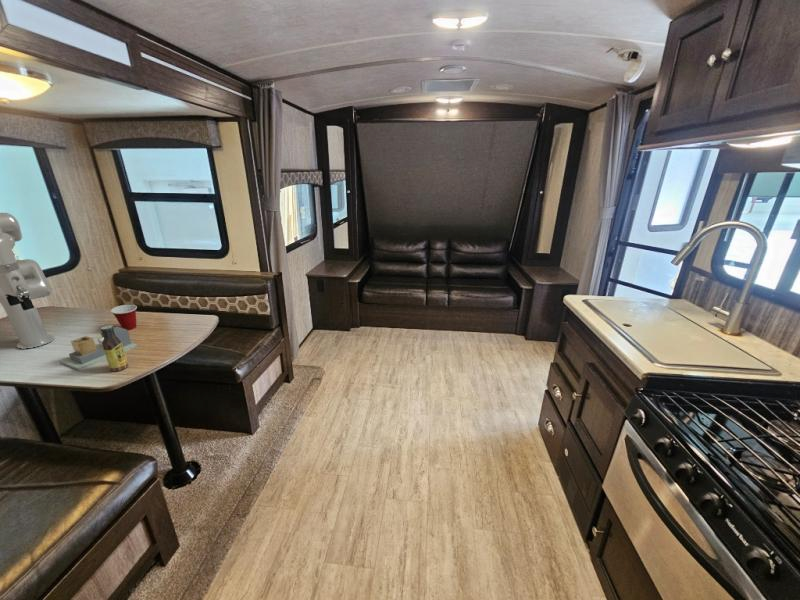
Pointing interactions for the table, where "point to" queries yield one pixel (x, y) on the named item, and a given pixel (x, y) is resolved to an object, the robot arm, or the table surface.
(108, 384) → the table surface
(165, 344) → the table surface
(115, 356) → the sauce bottle
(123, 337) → the coupling rig
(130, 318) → the plastic cup
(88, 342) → the hollow wooden square tube
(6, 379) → the table surface
